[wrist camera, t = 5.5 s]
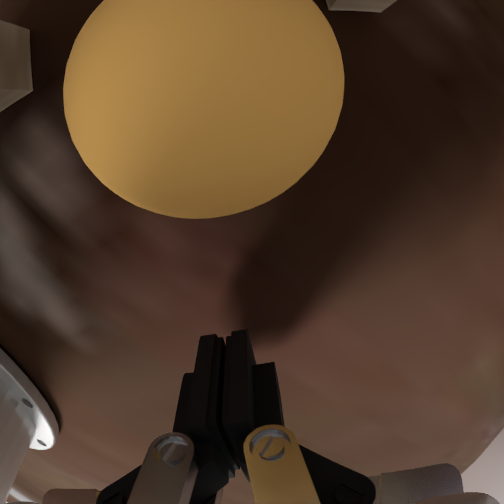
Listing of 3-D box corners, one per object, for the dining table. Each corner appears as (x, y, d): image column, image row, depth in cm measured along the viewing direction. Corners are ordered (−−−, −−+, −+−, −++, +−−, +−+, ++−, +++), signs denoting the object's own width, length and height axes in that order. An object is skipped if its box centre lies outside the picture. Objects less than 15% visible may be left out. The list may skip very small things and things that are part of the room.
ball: (87, -45, 3) (145, 84, 9) (-48, 155, 2) (111, 243, 8) (341, -68, 3) (311, 81, 9) (440, 127, 2) (320, 249, 8)
